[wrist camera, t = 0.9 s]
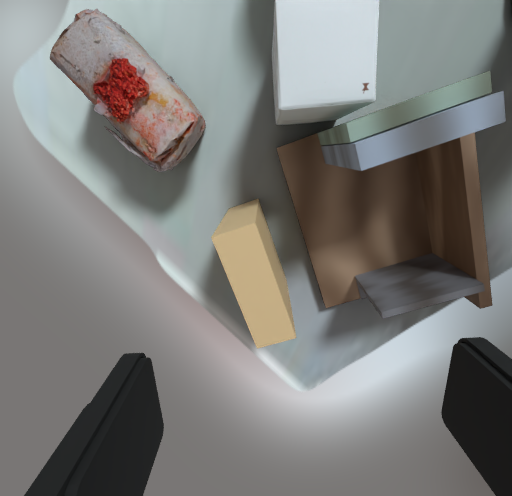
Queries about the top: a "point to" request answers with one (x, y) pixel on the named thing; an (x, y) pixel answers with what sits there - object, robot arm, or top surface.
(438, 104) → the shelf
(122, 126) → the food item
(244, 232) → the book
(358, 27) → the supplement box
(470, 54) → the top surface
